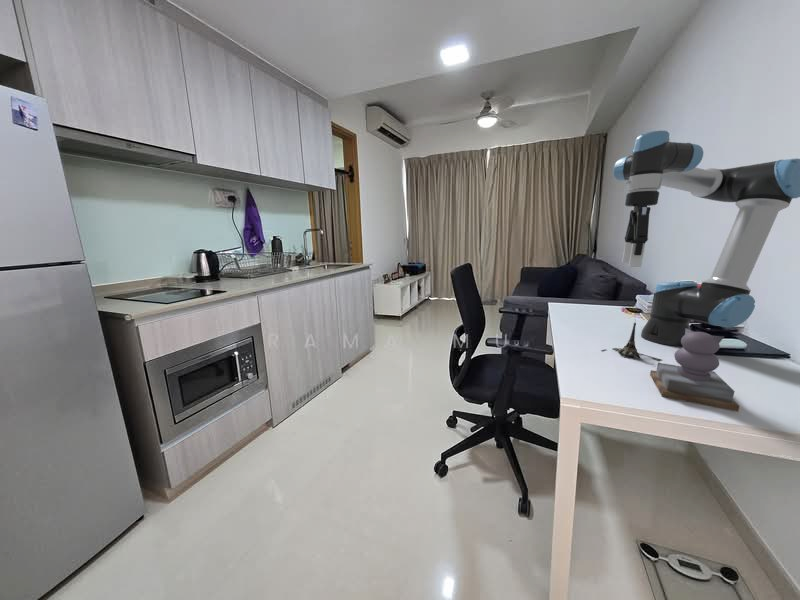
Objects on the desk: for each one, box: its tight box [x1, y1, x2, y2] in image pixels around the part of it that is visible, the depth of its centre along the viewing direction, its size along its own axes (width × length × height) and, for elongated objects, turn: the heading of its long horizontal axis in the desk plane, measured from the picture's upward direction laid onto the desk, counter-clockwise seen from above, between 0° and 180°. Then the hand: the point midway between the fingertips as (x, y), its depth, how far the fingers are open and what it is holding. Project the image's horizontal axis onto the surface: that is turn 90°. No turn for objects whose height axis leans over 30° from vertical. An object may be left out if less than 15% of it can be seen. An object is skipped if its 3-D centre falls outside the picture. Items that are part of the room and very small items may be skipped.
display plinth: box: [649, 362, 740, 413], centre depth 81 cm, size 14×14×4 cm
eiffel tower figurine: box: [600, 319, 663, 362], centre depth 103 cm, size 15×10×13 cm
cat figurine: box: [673, 328, 725, 381], centre depth 79 cm, size 8×8×12 cm
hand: (630, 264), depth 93 cm, fingers open, 13 cm apart
